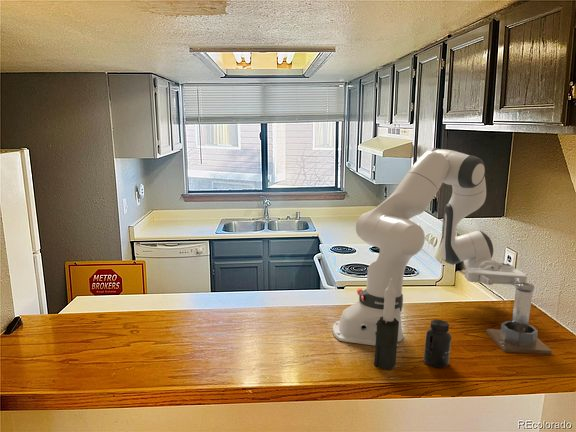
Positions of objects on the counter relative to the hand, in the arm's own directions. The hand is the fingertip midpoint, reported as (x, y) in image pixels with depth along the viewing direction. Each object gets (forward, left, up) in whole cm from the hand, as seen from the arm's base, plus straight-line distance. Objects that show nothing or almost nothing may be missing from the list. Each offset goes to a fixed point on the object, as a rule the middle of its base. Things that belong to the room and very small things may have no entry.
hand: (504, 283), depth 152 cm
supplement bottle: (-29, -28, -16) cm, 43 cm away
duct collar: (+1, -12, -16) cm, 20 cm away
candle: (-44, -31, -16) cm, 56 cm away
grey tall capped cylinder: (+1, -12, -14) cm, 19 cm away
